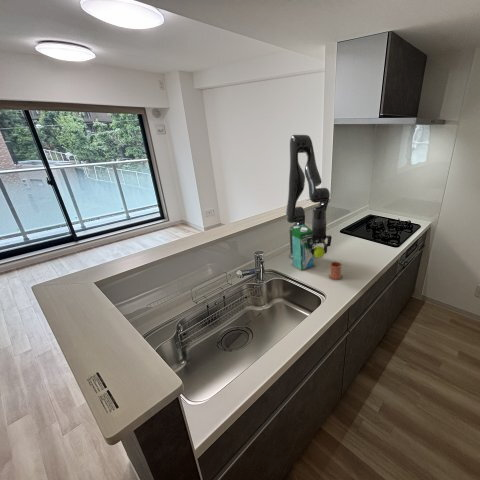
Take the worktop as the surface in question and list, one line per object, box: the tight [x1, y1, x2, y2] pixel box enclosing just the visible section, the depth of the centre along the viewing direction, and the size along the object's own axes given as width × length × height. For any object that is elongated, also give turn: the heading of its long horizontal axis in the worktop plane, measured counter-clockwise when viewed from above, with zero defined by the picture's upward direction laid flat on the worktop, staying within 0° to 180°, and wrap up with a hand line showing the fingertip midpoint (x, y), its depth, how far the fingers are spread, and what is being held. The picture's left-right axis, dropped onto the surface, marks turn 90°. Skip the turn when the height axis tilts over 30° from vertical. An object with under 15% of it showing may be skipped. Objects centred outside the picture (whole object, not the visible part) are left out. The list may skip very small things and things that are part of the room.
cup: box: [329, 261, 342, 280], centre depth 144 cm, size 6×6×8 cm
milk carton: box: [292, 223, 314, 271], centre depth 155 cm, size 9×9×25 cm
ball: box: [313, 245, 325, 259], centre depth 145 cm, size 6×6×6 cm
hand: (318, 253), depth 145 cm, fingers closed on ball, 6 cm apart
